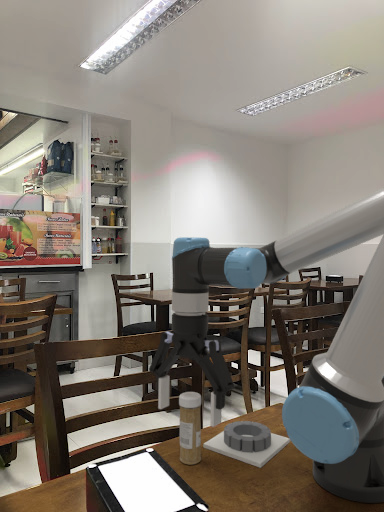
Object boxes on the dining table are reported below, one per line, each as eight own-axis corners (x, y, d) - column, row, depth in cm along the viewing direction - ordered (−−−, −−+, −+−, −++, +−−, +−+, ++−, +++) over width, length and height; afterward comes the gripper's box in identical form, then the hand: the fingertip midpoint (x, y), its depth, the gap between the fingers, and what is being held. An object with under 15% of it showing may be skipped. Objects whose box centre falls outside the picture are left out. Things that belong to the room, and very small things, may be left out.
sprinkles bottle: (205, 461, 84) (205, 395, 83) (186, 468, 81) (186, 400, 81) (193, 452, 87) (193, 389, 87) (174, 458, 85) (174, 393, 85)
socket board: (290, 442, 92) (290, 427, 92) (260, 467, 81) (260, 451, 81) (236, 426, 101) (236, 413, 101) (203, 447, 90) (203, 432, 90)
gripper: (252, 317, 79) (250, 425, 80) (157, 304, 95) (156, 396, 95) (232, 322, 73) (230, 439, 74) (133, 308, 89) (132, 405, 89)
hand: (188, 415), depth 84 cm, fingers open, 13 cm apart
